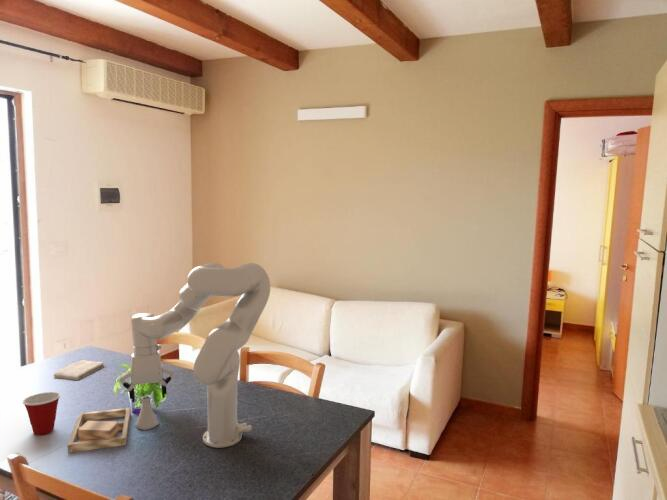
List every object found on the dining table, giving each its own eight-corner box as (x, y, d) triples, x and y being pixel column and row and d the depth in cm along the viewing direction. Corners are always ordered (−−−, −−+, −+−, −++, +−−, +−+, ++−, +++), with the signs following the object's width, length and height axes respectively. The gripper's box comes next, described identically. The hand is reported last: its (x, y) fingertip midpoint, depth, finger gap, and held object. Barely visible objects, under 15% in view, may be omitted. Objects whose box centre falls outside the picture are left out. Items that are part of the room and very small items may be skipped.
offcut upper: (118, 430, 161) (118, 421, 161) (110, 439, 155) (109, 430, 155) (88, 429, 161) (87, 420, 161) (78, 438, 155) (78, 429, 155)
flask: (162, 424, 171) (162, 396, 170) (144, 432, 165) (143, 404, 164) (149, 418, 175) (148, 391, 174) (131, 426, 169) (130, 398, 168)
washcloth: (105, 366, 223) (105, 360, 223) (78, 382, 206) (77, 374, 205) (82, 364, 225) (82, 357, 225) (53, 379, 208) (52, 372, 208)
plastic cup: (56, 420, 172) (54, 387, 170) (66, 431, 164) (64, 397, 163) (20, 430, 164) (18, 396, 163) (29, 442, 157) (27, 407, 155)
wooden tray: (130, 414, 178) (130, 407, 177) (125, 445, 157) (125, 437, 157) (79, 420, 172) (79, 413, 172) (68, 452, 152) (67, 445, 151)
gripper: (172, 343, 173) (175, 390, 175) (118, 349, 167) (122, 397, 169) (172, 350, 166) (175, 398, 168) (116, 356, 160) (120, 406, 162)
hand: (148, 398), depth 169 cm, fingers open, 9 cm apart
